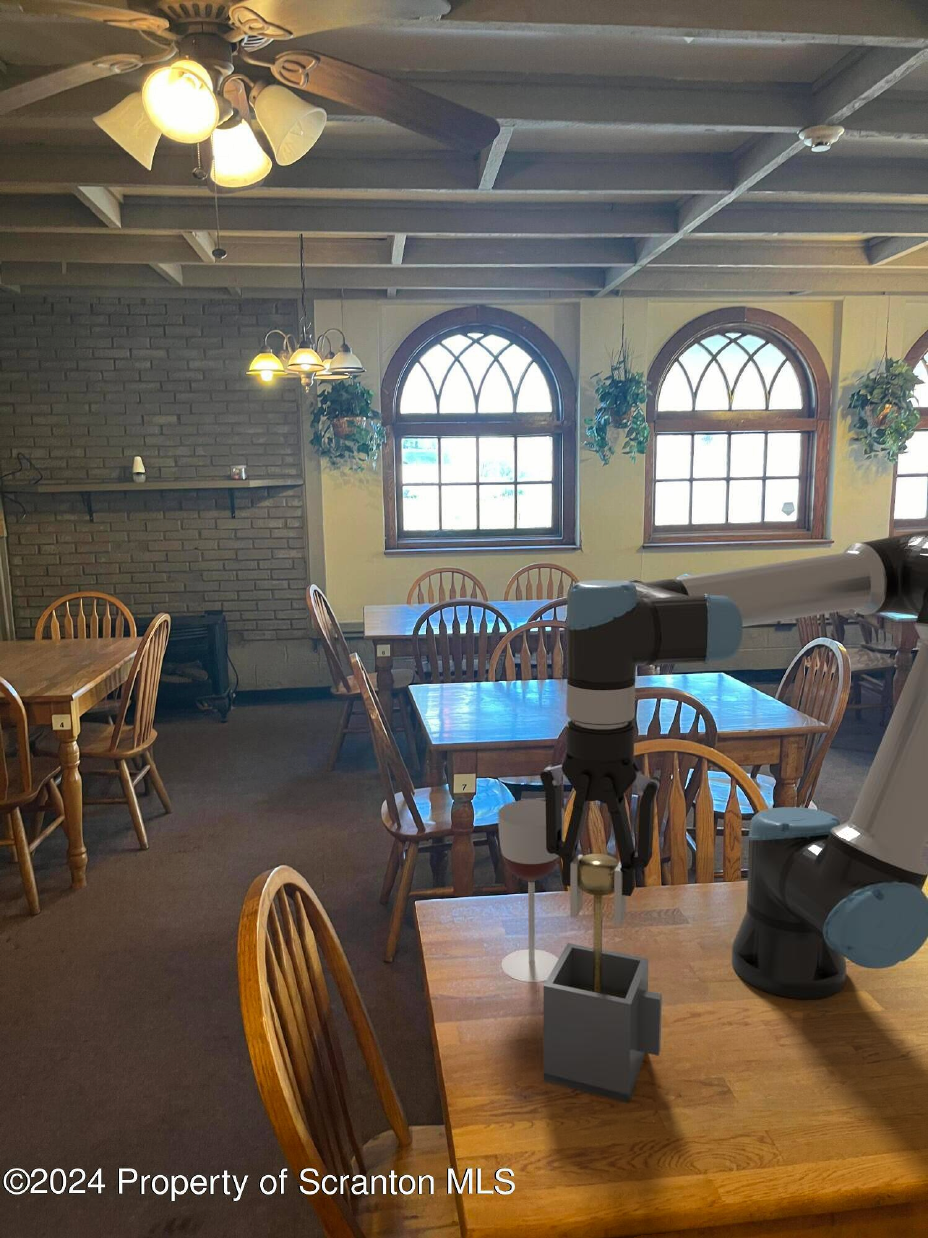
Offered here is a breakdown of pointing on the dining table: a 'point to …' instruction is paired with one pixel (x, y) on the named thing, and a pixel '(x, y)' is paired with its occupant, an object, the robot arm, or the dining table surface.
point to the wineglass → (527, 877)
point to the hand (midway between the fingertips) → (597, 915)
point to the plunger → (597, 908)
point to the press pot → (599, 1023)
